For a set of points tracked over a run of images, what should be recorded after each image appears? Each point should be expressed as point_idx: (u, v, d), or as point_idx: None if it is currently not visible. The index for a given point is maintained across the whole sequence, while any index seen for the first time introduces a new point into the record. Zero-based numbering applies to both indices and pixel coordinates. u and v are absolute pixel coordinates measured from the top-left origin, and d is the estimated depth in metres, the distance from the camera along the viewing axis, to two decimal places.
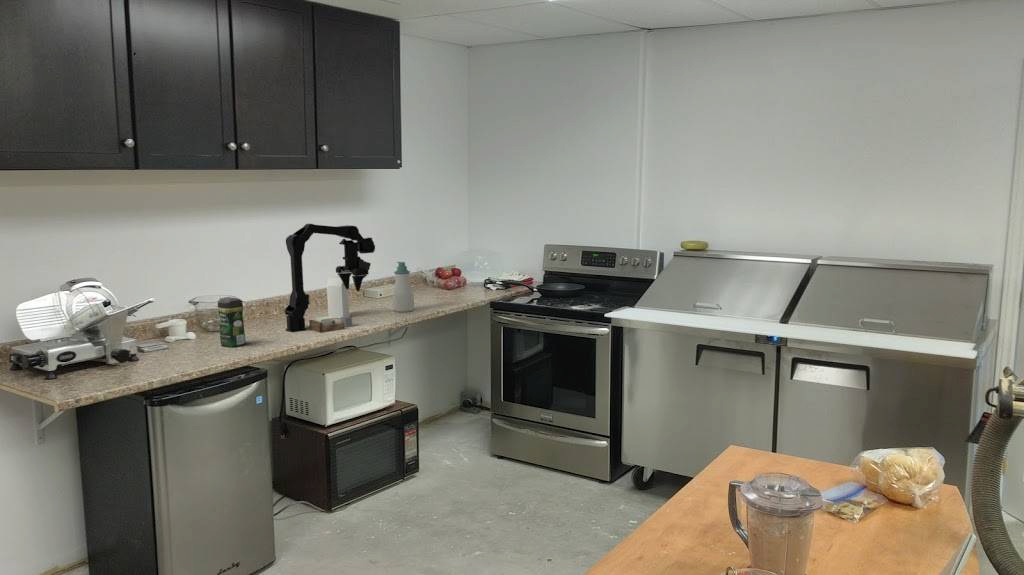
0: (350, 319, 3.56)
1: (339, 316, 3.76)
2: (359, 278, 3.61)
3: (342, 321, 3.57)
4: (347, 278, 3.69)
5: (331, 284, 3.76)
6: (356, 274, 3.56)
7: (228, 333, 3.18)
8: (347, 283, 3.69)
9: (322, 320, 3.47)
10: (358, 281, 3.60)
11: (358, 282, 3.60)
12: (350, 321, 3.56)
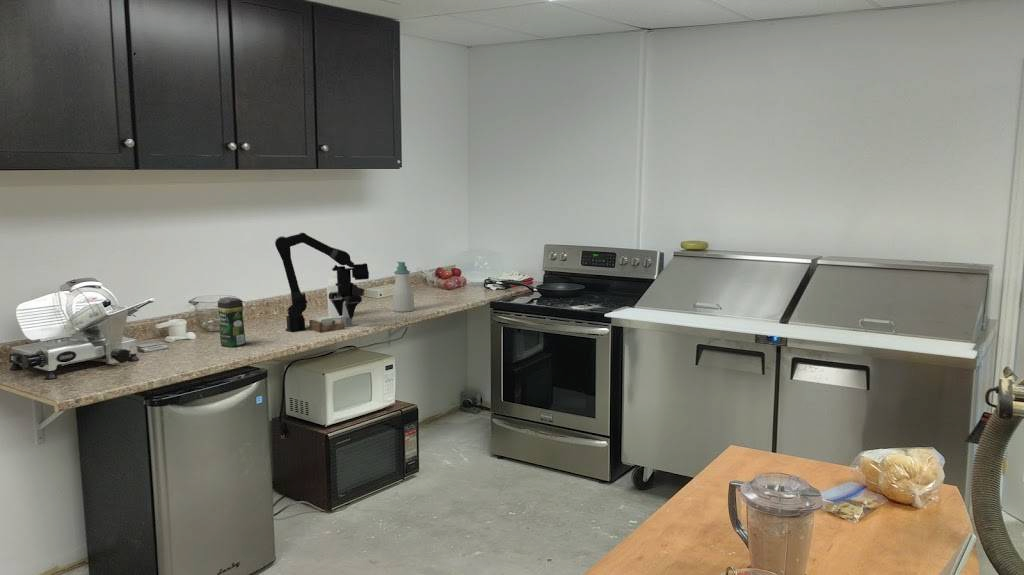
0: (350, 319, 3.56)
1: (339, 316, 3.76)
2: (352, 305, 3.52)
3: (342, 321, 3.57)
4: (340, 304, 3.60)
5: (331, 284, 3.76)
6: (349, 301, 3.47)
7: (228, 333, 3.18)
8: (340, 310, 3.60)
9: (322, 320, 3.47)
10: (351, 308, 3.52)
11: (351, 309, 3.52)
12: (350, 321, 3.56)
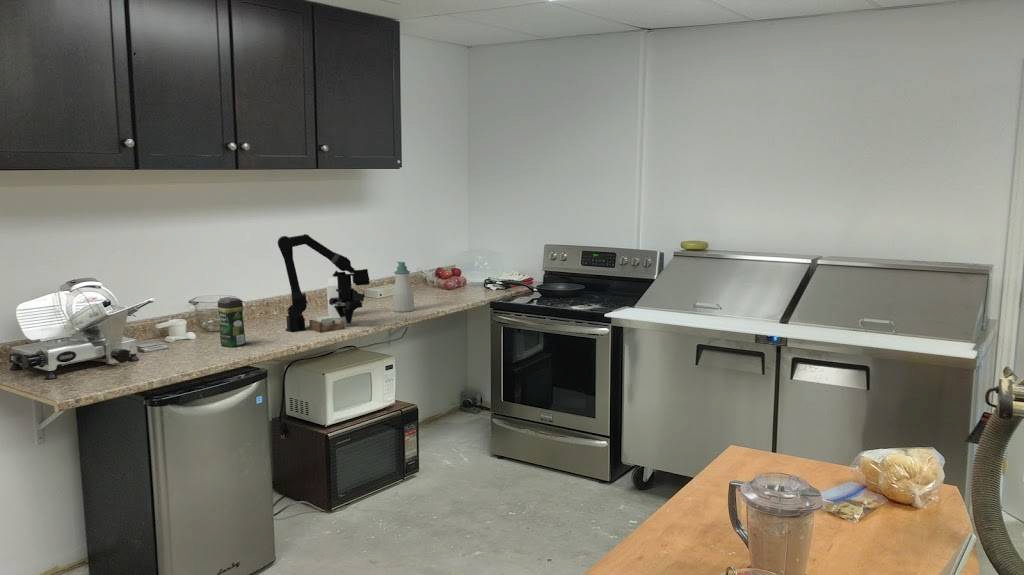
0: None
1: (339, 316, 3.76)
2: (350, 310, 3.54)
3: (342, 321, 3.57)
4: (343, 311, 3.59)
5: (331, 284, 3.76)
6: (349, 307, 3.47)
7: (228, 333, 3.18)
8: (343, 316, 3.58)
9: (322, 320, 3.47)
10: (349, 313, 3.54)
11: (348, 314, 3.54)
12: None
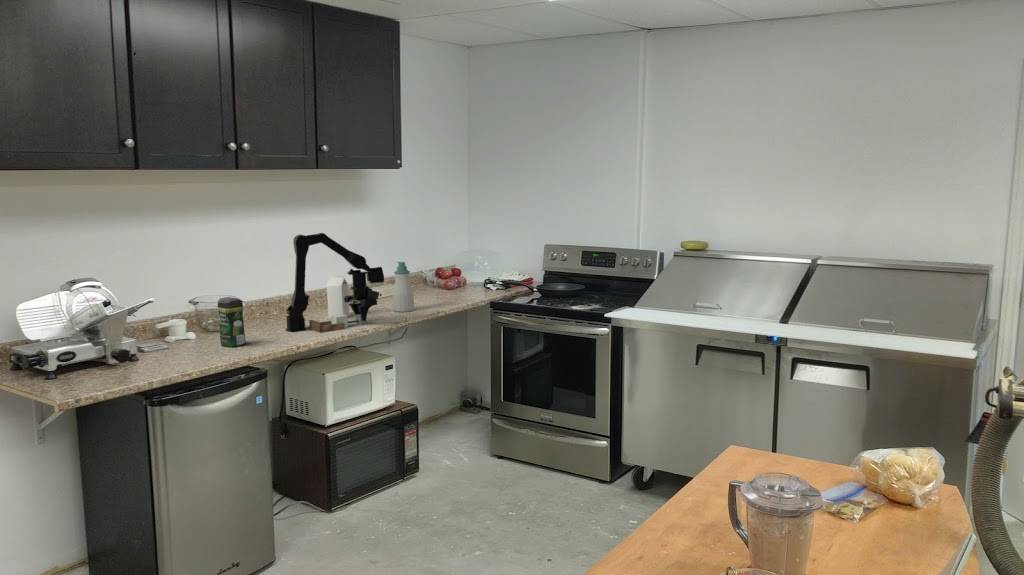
0: None
1: None
2: (365, 308, 3.58)
3: (357, 319, 3.61)
4: (358, 308, 3.63)
5: (331, 284, 3.76)
6: (365, 305, 3.52)
7: (228, 333, 3.18)
8: (358, 313, 3.63)
9: (337, 318, 3.52)
10: (364, 311, 3.58)
11: (363, 312, 3.58)
12: None
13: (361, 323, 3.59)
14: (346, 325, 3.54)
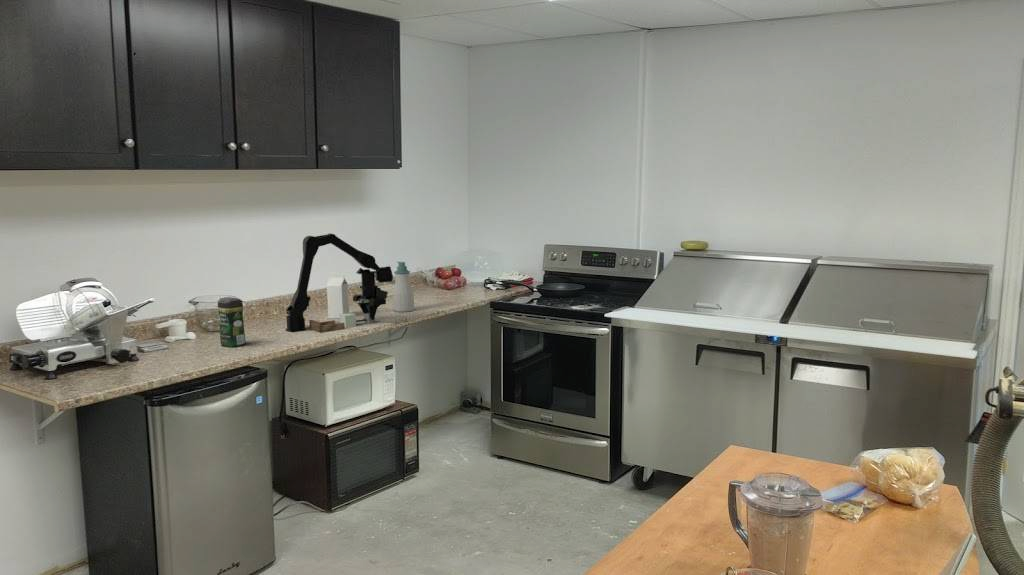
0: None
1: None
2: (374, 307, 3.61)
3: (365, 318, 3.64)
4: (367, 307, 3.66)
5: (331, 284, 3.76)
6: (374, 304, 3.55)
7: (228, 333, 3.18)
8: (367, 312, 3.66)
9: (346, 316, 3.54)
10: (373, 310, 3.61)
11: (372, 311, 3.61)
12: None
13: (369, 322, 3.62)
14: (354, 324, 3.57)
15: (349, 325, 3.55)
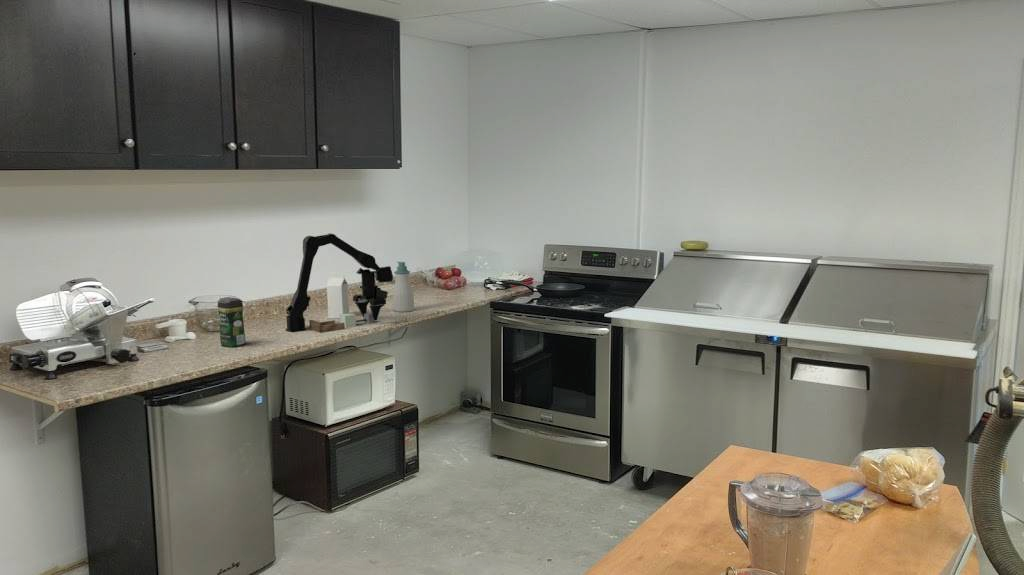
0: None
1: None
2: (377, 307, 3.59)
3: (365, 318, 3.64)
4: (364, 307, 3.68)
5: (331, 284, 3.76)
6: (374, 304, 3.55)
7: (228, 333, 3.18)
8: (364, 312, 3.67)
9: (346, 317, 3.54)
10: (376, 310, 3.59)
11: (375, 312, 3.59)
12: (373, 318, 3.63)
13: (369, 322, 3.62)
14: (354, 324, 3.57)
15: (349, 325, 3.55)
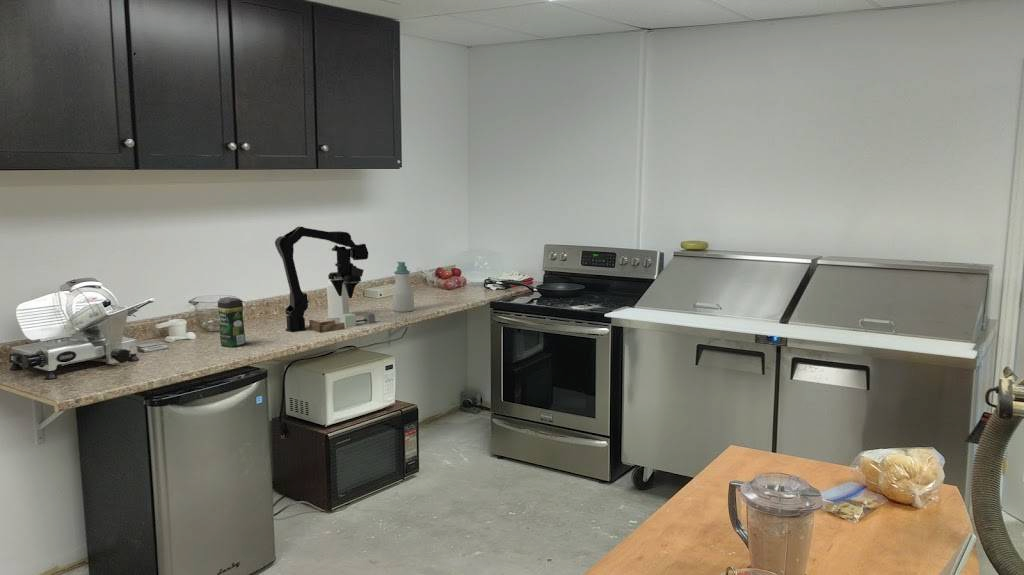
0: (373, 316, 3.63)
1: None
2: (351, 285, 3.56)
3: (365, 318, 3.64)
4: (340, 285, 3.64)
5: (331, 284, 3.76)
6: (348, 281, 3.51)
7: (228, 333, 3.18)
8: (340, 290, 3.64)
9: (346, 317, 3.54)
10: (350, 288, 3.56)
11: (350, 289, 3.56)
12: (373, 318, 3.63)
13: (369, 322, 3.62)
14: (354, 324, 3.57)
15: (349, 325, 3.55)
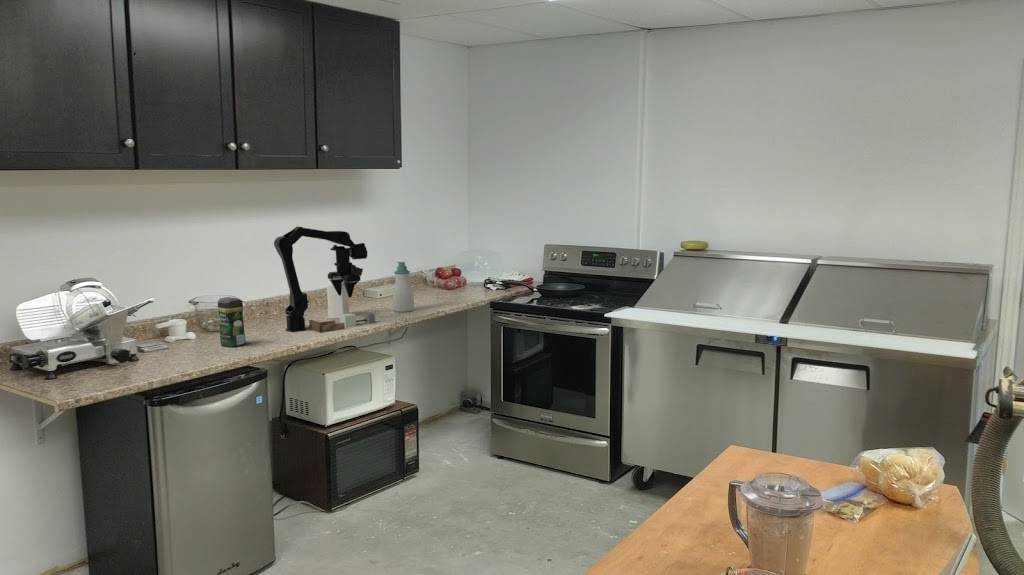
0: (373, 316, 3.63)
1: None
2: (351, 284, 3.56)
3: (365, 318, 3.64)
4: (339, 284, 3.64)
5: (331, 284, 3.76)
6: (348, 280, 3.51)
7: (228, 333, 3.18)
8: (339, 289, 3.64)
9: (346, 317, 3.54)
10: (350, 287, 3.56)
11: (349, 289, 3.56)
12: (373, 318, 3.63)
13: (369, 322, 3.62)
14: (354, 324, 3.57)
15: (349, 325, 3.55)
